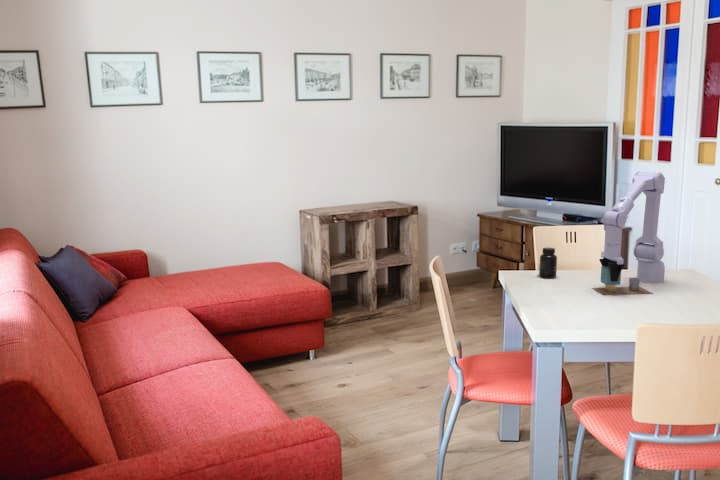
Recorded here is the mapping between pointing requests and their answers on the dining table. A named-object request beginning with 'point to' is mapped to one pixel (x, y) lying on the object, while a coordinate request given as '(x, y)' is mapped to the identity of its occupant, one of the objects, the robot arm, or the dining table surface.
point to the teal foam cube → (608, 276)
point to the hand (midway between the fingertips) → (610, 279)
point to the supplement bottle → (548, 263)
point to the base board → (622, 291)
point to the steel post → (633, 284)
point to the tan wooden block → (610, 288)
